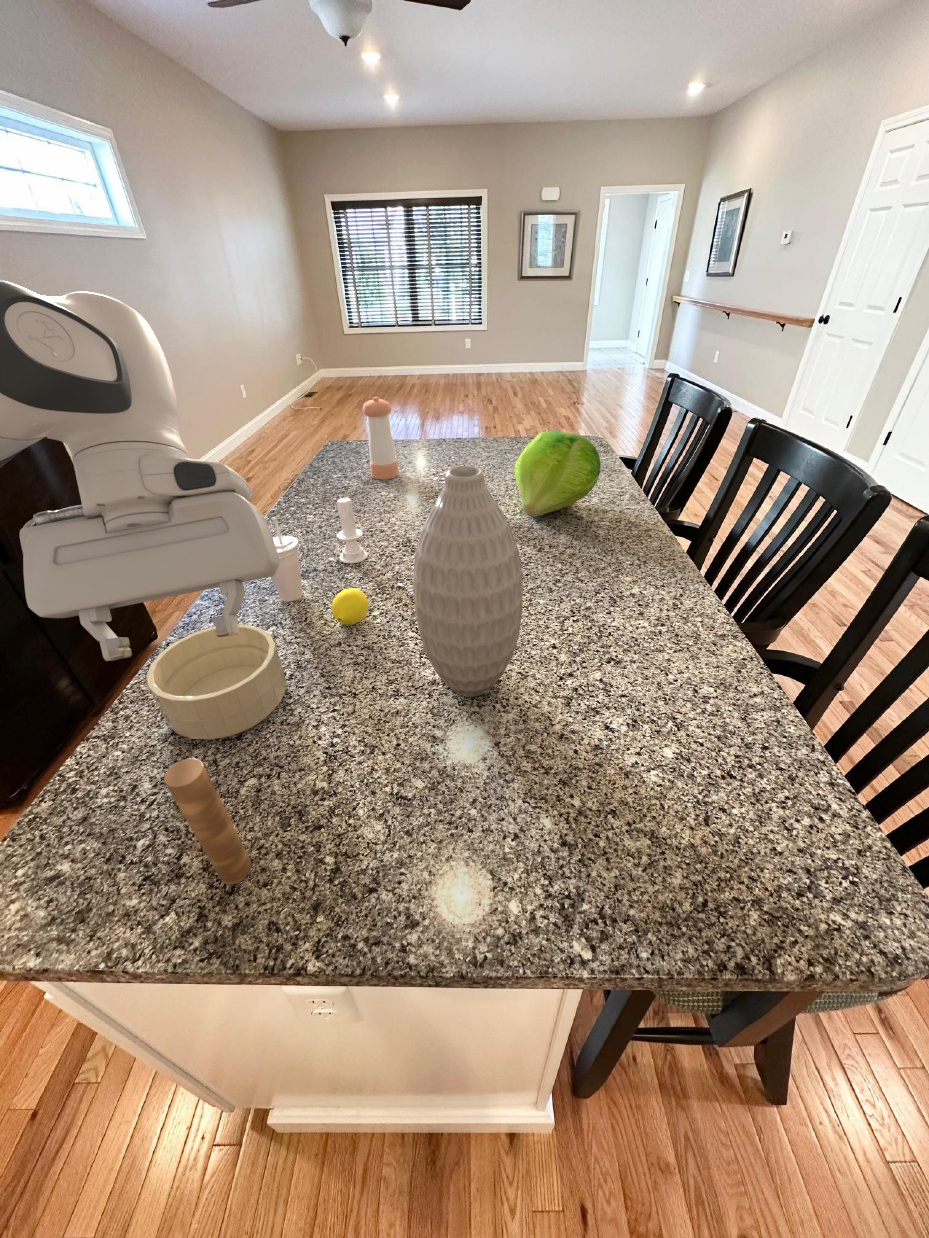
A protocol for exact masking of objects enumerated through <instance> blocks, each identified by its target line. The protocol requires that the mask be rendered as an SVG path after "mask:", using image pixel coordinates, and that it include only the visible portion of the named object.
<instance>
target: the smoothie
mask: <svg viewBox="0 0 929 1238" xmlns="http://www.w3.org/2000/svg"><path fill="white" fill-rule="evenodd" d="M272 520H273V525H274V528H275V533H276V536H272V537H273V540H274V543H275V546H276V550H277V553H278V558H279V567H278V569H277V571H276V573H275V574H274V575H273V576H271V577H270V578H271V581H272V583H273V585H274V588H275V590H276V592H277V594H278V597H279V599H280V600H281V601H282V602H288V603H289V602H290V603H291V602H295V601H297V600H299V599H301V598H302V597H303V585H302V575H301V566H300V556H299V555H300V554H299V550H300V548H301V547H300V543H299V540H298V538H296V537H295V536H291V535H282V533H281V529H280V525H279V521H278V517H273V518H272Z"/></svg>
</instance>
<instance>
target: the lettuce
mask: <svg viewBox="0 0 929 1238" xmlns="http://www.w3.org/2000/svg"><path fill="white" fill-rule="evenodd" d="M601 464H602V462H601V458H600V454H599V452H598V450H597V448H596V446H595V445H594V444H592V442H591V441H590V440H588V439H587V437H584V436H582V435H580V434H575V433H571V432H564V431H559V430H554V429H553V430H552V429H551V430H547V431H543V432H539V433H538V435H536V436H535V437H534V438H533V439H532V440H531V441H530V442H529V443H528V444H527V445H526V446H525V448H524V449H523V451H522V452H521V454H520V455H519V456H518V458H517V459H516V462H515V465H514V477H515V478H514V479H515V482H516V485H517V488H518V490H519V493H520V499H521V506H522V509H523V510H524V513H526V514H527V515H528V516H531V517H536V516H543V515H546V514H548V513H549V514H550V513H553V512H557V511H559V510H562V509H564V508H567V507H570V506H572V505H573V504H575V503H577V502H578V501H581V500H582V499H583V498H585V497H586V496H588V494H589V493H590V492H591V491H592V490H593V489H594V487H595V485H596V484H597V482H598V480H599V477H600V474H601Z"/></svg>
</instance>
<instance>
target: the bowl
mask: <svg viewBox="0 0 929 1238" xmlns="http://www.w3.org/2000/svg"><path fill="white" fill-rule="evenodd" d="M238 626H239V634H236V635H232V636H226V637H217V635H216V632H215V629H216V626H211V627H208V628H203V629H202V630H198V631H195V632H193V633H190V634H189V635H186V636H184V637H182V638H180V639H178V640H177V641H175V642H173V643H172V644H170V645H169V646H168V647H166V648H164V650H162V651H161V652H160V653H159V654H158V656H157V657H156V658H155V659H154V660H153V661H152V662H151V664H150V666H149V668H148V670H147V673H146V683H147V688H148V690H149V691H150V693H151V695H152V698H153V699H154V701H155V703H156V705H157V707H158V708H159V711H160V712H161V715H162V716H163V719H164V720H165V722H166V725H168V726H169V727H170V729H171V730H173V732H174V733H176V734H177V735H180V736H184V737H185V738H189V739H192V740H193V739H195V740H218V739H224V738H228V737H232V736H235V735H238V734H241V733H243V732H246V731H248V730H249V729H251V728H253V727H254V726H256V725H258V724H259V723H261V722H262V721H264V720H265V719H266V718H267V717H268V716H269V715H271V713H273V712H274V710H275V708H277V706H278V705H280V703H281V701H282V699H283V697H284V696H285V693H286V689H287V678H286V675H285V672H284V669H283V665H282V662H281V659H280V655H279V652H278V649H277V646H276V643H275V641H274V638H273V637H272V635H271V634H270V633H269V632H267V631H266V630H264V629H263V628H261V627H257V626H254V625H250V624H239V623H238Z"/></svg>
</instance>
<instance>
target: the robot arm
mask: <svg viewBox="0 0 929 1238" xmlns="http://www.w3.org/2000/svg"><path fill="white" fill-rule="evenodd" d="M180 422H181V412H180V406H179V401H178V397H177V393H176V388H175V384H174V381H173V377H172V373H171V370H170V366H169V364H168V361H167V359H166V356H165V353H164V350H163V349H162V347H161V344H160V342H159V339H158V338H157V336H156V334H155V332H154V330H153V329H152V327H151V326H150V324H149V323H148V321H147V320H146V319H145V318H144V317H143V316H142V315H141V314H140V313H139V312H138V311H136V310H135V309H134V308H133V307H131V306H129V305H127V304H126V303H125V302H122V301H120V300H118V299H115V298H113V297H110V296H108V295H104V294H100V293H95V292H90V291H74V292H69V293H66V294H64V295H60V296H46V295H40V294H37V293H36V292H34V291H31V290H29V289H27V288H25V287H23V286H21V285H18V284H15V283H13V282H10V281H8V280H3V279H0V469H1V468H2V467H3V466H5V465H6V464H7V463H9V462H10V461H11V460H12V459H14V458H15V457H16V456H18V455H19V454H20V453H21V452H22V451H23V450H25V449H26V448H28V447H30V446H32V445H33V444H36V443H37V442H39V441H41V440H42V439H45V438H47V439H50V440H55V441H59V442H62V443H64V444H65V445H66V446H67V447H68V448H69V450H70V453H71V459H72V464H73V468H74V469H73V470H74V471H75V472H74V473H75V478H76V483H77V487H78V493H79V497H80V501H81V504H79V505H73V506H68V507H65V508H64V507H63V508H61V509H56V510H44V511H40V512H37V513H35V514H33V515H32V516H33V517H32V519H29V520H28V521H27V522H26V523H25V524H24V525H23V527H22V528H20V530H19V539H20V540H19V541H20V546H21V551H22V555H23V556H22V557H23V558H22V560H23V561H22V562H23V564H22V565H23V566H22V567H23V569H22V570H23V583H24V593H25V600H26V604H27V607H28V608H29V609H30V610H31V612H33V613H34V614H36V616H38V617H41V618H46V619H66V618H67V619H68V618H72V617H79V623H80V625H81V626H82V627H83V628H84V629H85V630H86V631H87V632H88V633H89V634H90V635H91V636H92V637H93V638H94V639H95V641H97V642H99V645H100V650H101V654H102V658H103V659H104V661H106V662H111V661H117V660H122V659H127V658H130V657H132V653H133V652H132V648H130V646H131V643H130V639H129V637H119V636H117V634H116V633H115V632H114V631H113V630H112V629H111V628H110V626H109V625H108V624H107V623H109V622H111V621H112V613H111V610H112V609H116V608H117V609H118V608H122V607H127V606H132V605H136V604H142V603H148V602H151V601H157V600H162V599H166V598H173V597H177V596H182V595H187V594H192V593H197V592H202V591H206V590H212V589H216V588H217V589H219V592H220V595H222V596H225V597H226V600H225V603H224V606H223V609H222V613H221V615H218V616H214V617H212V622H213V627H216V629H215V632H216V635H217V637H226V636H232V635H236V634H239V626H238V624H239V622H238V618H237V615H238V614H239V612H240V608H241V606H242V604H243V601H244V598H245V595H246V591H245V587H244V583H246V582H251V581H257V580H262V579H266V578H271V576H273V575H274V574H275V573H276V571H277V569H278V567H279V558H278V553H277V550H276V546H275V543H274V540H273V537H274V536H273V534H272V531H271V529H270V526H269V523H268V521H267V519H266V517H265V516H264V514H263V512H262V511H261V510H260V509H258V508H257V507H256V506H255V505H254V504H252V501H253V491H252V488H251V486H250V485H249V483H248V482H247V480H245V479H244V478H243V476H242V475H241V474H239V473H238V472H236V471H235V470H234V469H233V468H232V467H229V466H228V465H226V464H224V463H221V462H217V461H209V460H200V459H191V457H190V454H189V451H188V449H187V448H186V445H185V444H184V442H183V439H182V437H181V434H180Z"/></svg>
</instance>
